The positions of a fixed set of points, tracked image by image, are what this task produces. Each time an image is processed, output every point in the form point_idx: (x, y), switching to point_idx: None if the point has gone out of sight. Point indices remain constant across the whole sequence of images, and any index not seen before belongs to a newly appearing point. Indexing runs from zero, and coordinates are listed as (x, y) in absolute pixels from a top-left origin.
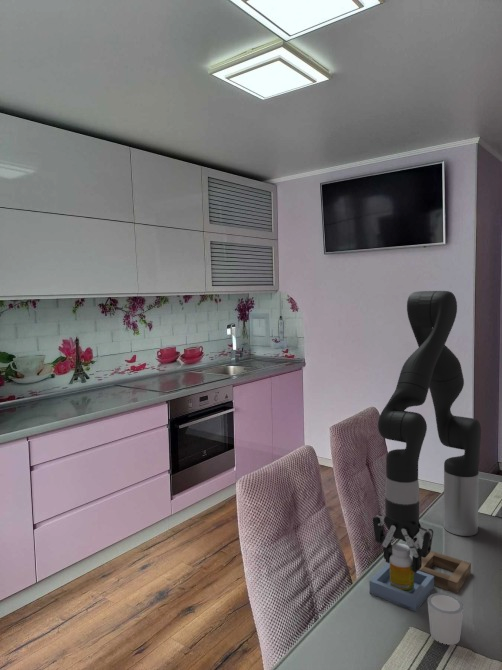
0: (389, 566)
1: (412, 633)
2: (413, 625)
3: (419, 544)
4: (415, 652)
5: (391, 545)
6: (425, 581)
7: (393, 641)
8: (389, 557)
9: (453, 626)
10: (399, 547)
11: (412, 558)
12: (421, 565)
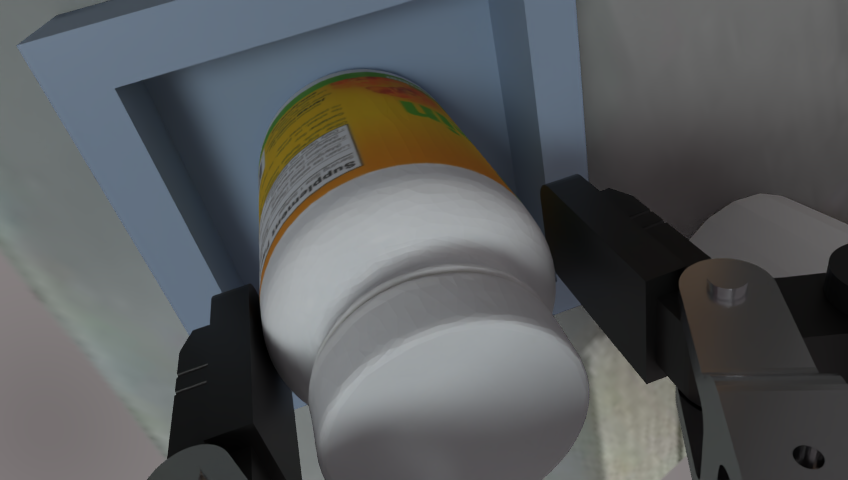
0: (138, 151)
1: (616, 367)
2: (595, 330)
3: (812, 367)
4: (670, 420)
5: (258, 441)
6: (549, 64)
7: (579, 452)
8: (283, 381)
9: None
10: (443, 453)
11: (529, 232)
12: (637, 200)
